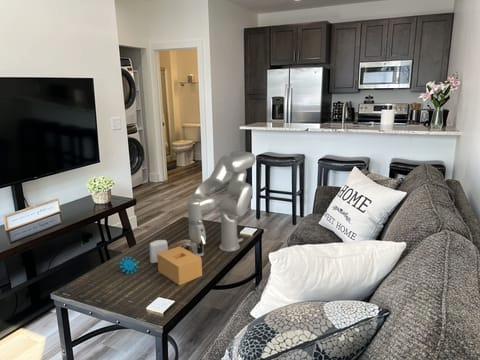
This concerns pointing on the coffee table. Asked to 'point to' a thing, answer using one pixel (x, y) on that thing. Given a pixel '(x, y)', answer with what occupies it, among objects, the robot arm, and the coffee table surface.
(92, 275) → the coffee table surface
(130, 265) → the gear
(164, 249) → the photo printer
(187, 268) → the tissue box
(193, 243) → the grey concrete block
